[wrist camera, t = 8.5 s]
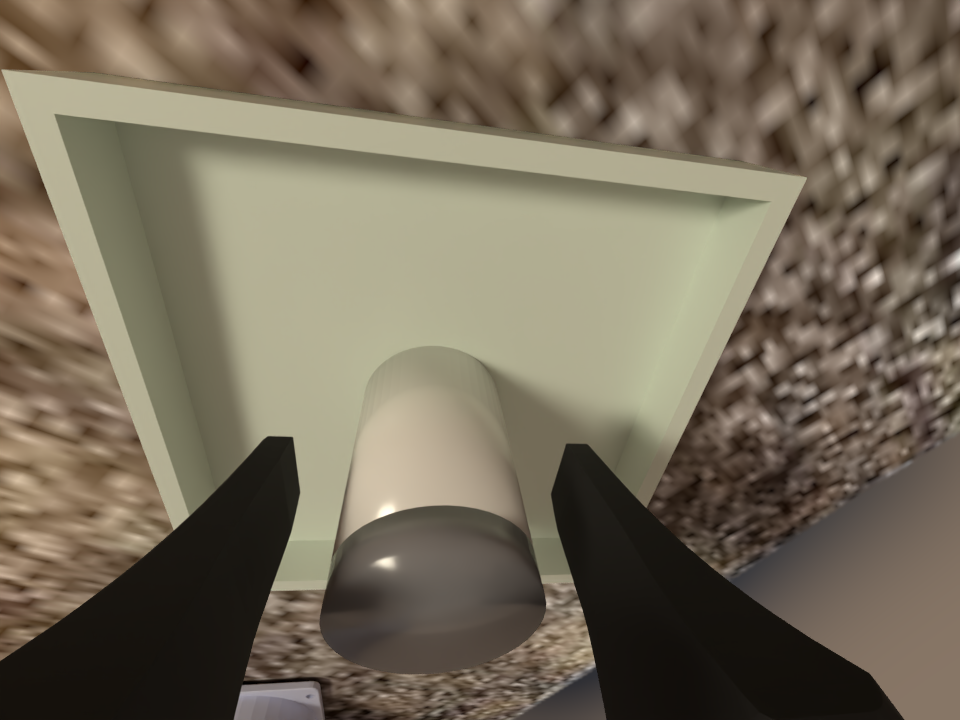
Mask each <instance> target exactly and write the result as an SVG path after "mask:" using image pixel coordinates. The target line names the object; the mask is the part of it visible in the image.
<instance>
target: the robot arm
mask: <svg viewBox="0 0 960 720" xmlns="http://www.w3.org/2000/svg"><path fill="white" fill-rule="evenodd" d="M299 497H300V486H299V478H298V471H297V463H296V455H295V448H294V440H293V437H285V436H267V437H266V438H265V439H263V440H262V441H261V443H260V444H259V445H258V446H257V447H256V448H255V449H254V450H253V451H252V453H251V454H250V455H249V456H248V457H247V458H246V459H245V460H244V461H243V462H242V463H241V465H240V466H239V467H238V468H237V469H236V470H235V471H234V472H233V473H232V474H231V475H230V476H229V477H228V478H227V479H226V480H225V481H224V482H223V483H222V484H221V485H220V486H219V487H218V488H217V489H216V491H215V492H214V493H213V494H212V495H211V496H210V497H209V498H208V499H207V500H206V501H205V502H204V503H203V504H202V505H201V506H200V507H198V508H197V509H196V510H195V511H194V512H193V513H192V514H191V515H190V516H189V517H188V518H187V519H186V520H185V521H183V522H182V523H181V524H180V525H179V526H178V527H177V528H176V529H175V530H174V531H173V532H172V533H170V534H169V535H168V536H167V537H166V538H165V539H164V540H163V541H161V542H160V543H159V544H158V545H157V546H156V547H155V548H153V549H152V550H151V551H150V552H149V553H148V554H146V555H145V556H144V557H143V558H142V559H140V560H139V561H138V562H137V563H135V564H134V565H133V566H132V567H131V568H129V569H128V570H127V571H126V572H124V573H123V574H122V575H121V576H119V577H118V578H117V579H116V580H114V581H113V582H112V583H110V584H109V585H108V586H106V587H105V588H104V589H102V590H101V591H100V592H98V593H97V594H96V595H94V596H93V597H92V598H90V599H89V600H88V601H87V602H85V603H84V604H83V605H81V606H80V607H78V608H77V609H76V610H74V611H73V612H72V613H70V614H69V615H67V616H66V617H65V618H63V619H62V620H60V621H59V622H58V623H56V624H55V625H53V626H52V627H50V628H49V629H47V630H46V631H44V632H43V633H41V634H40V635H38V636H37V637H35V638H34V639H32V640H31V641H29V642H28V643H27V644H25V645H24V646H22V647H21V648H19V649H18V650H16V651H15V652H13V653H12V654H10V655H9V656H7V657H6V658H4V659H3V660H1V661H0V720H325V715H324V708H323V701H322V694H321V687H320V684H319V683H318V682H316V681H303V682H285V683H268V684H250V685H242V684H243V680H244V676H245V672H246V668H247V664H248V660H249V657H250V653H251V649H252V645H253V641H254V638H255V635H256V632H257V629H258V625H259V622H260V619H261V616H262V614H263V611H264V608H265V605H266V602H267V600H268V597H269V594H270V591H271V588H272V586H273V583H274V580H275V577H276V574H277V572H278V569H279V566H280V563H281V560H282V557H283V555H284V552H285V549H286V546H287V543H288V540H289V537H290V535H291V532H292V527H293V523H294V519H295V515H296V510H297V506H298V501H299ZM551 499H552V504H553V510H554V516H555V521H556V526H557V530H558V534H559V537H560V540H561V543H562V547H563V550H564V553H565V556H566V559H567V562H568V566H569V569H570V572H571V575H572V578H573V581H574V584H575V587H576V591H577V594H578V597H579V600H580V603H581V606H582V609H583V613H584V617H585V620H586V624H587V627H588V632H589V636H590V641H591V645H592V650H593V654H594V659H595V663H596V668H597V673H598V678H599V683H600V688H601V693H602V698H603V703H604V708H605V713H606V719H607V720H904V719H903V717H902V716H901V715H900V713H899V712H898V711H897V709H896V708H895V707H894V705H893V704H892V703H891V701H890V700H889V699H888V697H887V696H886V695H885V693H884V692H883V691H882V689H881V688H880V686H879V685H878V684H877V683H876V681H875V680H874V679H873V677H872V676H871V675H870V674H869V673H868V672H866V671H864V670H862V669H861V668H859V667H858V666H856V665H854V664H853V663H851V662H849V661H847V660H846V659H844V658H843V657H841V656H839V655H838V654H836V653H834V652H833V651H831V650H829V649H828V648H826V647H824V646H823V645H821V644H819V643H818V642H816V641H814V640H812V639H811V638H810V637H808V636H806V635H805V634H803V633H802V632H800V631H799V630H797V629H796V628H794V627H793V626H791V625H790V624H788V623H786V622H785V621H784V620H782V619H781V618H779V617H778V616H776V615H775V614H773V613H772V612H770V611H769V610H768V609H766V608H764V607H763V606H762V605H760V604H759V603H757V602H756V601H755V600H753V599H752V598H751V597H749V596H748V595H747V594H745V593H744V592H743V591H741V590H740V589H739V588H737V587H736V586H735V585H733V584H732V583H731V582H729V581H728V580H727V579H725V578H724V577H723V576H722V575H720V574H719V573H718V572H716V571H715V570H714V569H713V568H711V567H710V566H709V565H708V564H707V563H706V562H704V561H703V560H702V559H701V558H700V557H698V556H697V555H696V554H695V553H694V552H693V551H691V550H690V549H689V548H688V547H687V546H686V545H684V544H683V543H682V542H681V541H680V540H679V539H678V538H677V537H676V536H674V535H673V534H672V533H671V532H670V531H669V530H668V529H667V528H666V527H665V526H664V525H663V524H662V523H661V522H660V521H659V520H658V519H657V518H656V517H655V516H654V515H653V514H652V513H651V512H650V511H649V510H648V509H647V508H646V507H645V506H644V505H643V504H642V503H641V502H640V501H639V500H638V499H637V498H636V497H635V496H634V495H633V494H632V493H631V492H630V491H629V489H628V488H627V487H626V486H625V485H624V484H623V483H622V482H621V481H620V480H619V479H618V477H617V476H616V475H615V474H614V473H613V472H612V471H611V470H610V469H609V467H608V466H607V465H606V464H605V463H604V462H603V461H602V460H601V458H600V457H599V456H598V455H597V454H596V453H595V452H594V451H593V450H592V448H591V447H590V446H589V445H588V444H571V443H566V446H565V449H564V453H563V456H562V459H561V462H560V466H559V469H558V472H557V475H556V479H555V482H554V485H553V488H552V492H551Z"/></svg>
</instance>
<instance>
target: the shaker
mask: <svg viewBox="0 0 960 720" xmlns="http://www.w3.org/2000/svg"><path fill="white" fill-rule="evenodd" d="M545 611H546V599H545V594H544V590H543V585H542V581H541V577H540V573H539V568H538V564H537V560H536V555H535V551H534V547H533V542H532V538H531V534H530V529H529V525H528V521H527V517H526V512H525V508H524V504H523V499H522V495H521V491H520V486H519V482H518V478H517V474H516V469H515V465H514V461H513V456H512V452H511V448H510V443H509V439H508V435H507V431H506V426H505V422H504V418H503V413H502V409H501V405H500V400H499V396H498V392H497V387H496V384H495V382H494V379H493V377H492V376H491V374H490V372H489V371H488V370H487V368H486V367H485V366H484V365H483V364H482V363H481V362H479V361H478V360H477V359H475V358H474V357H472V356H470V355H469V354H467V353H465V352H462V351H460V350H457V349H453V348H449V347H443V346H421V347H416V348H411V349H408V350H405V351H402V352H400V353H397V354H395V355H393V356H392V357H390V358H389V359H387V360H386V361H384V362H383V363H382V364H381V365H380V366H379V367H378V368H377V369H376V370H375V371H374V373H373V374H372V375H371V377H370V379H369V381H368V383H367V386H366V389H365V393H364V398H363V403H362V408H361V413H360V418H359V423H358V428H357V433H356V438H355V443H354V448H353V453H352V458H351V463H350V468H349V473H348V478H347V484H346V489H345V494H344V499H343V504H342V509H341V514H340V519H339V524H338V529H337V534H336V539H335V544H334V549H333V554H332V559H331V564H330V569H329V574H328V579H327V584H326V589H325V594H324V599H323V604H322V609H321V614H320V629H321V633H322V635H323V637H324V640H325V641H326V642H327V644H328V645H329V646H330V647H331V648H332V649H333V650H334V651H335V652H336V653H338V654H339V655H341V656H342V657H344V658H345V659H347V660H349V661H351V662H353V663H356V664H358V665H361V666H364V667H367V668H371V669H374V670H379V671H384V672H390V673H399V674H434V673H443V672H451V671H456V670H461V669H466V668H469V667H473V666H477V665H480V664H483V663H486V662H489V661H491V660H493V659H496V658H498V657H500V656H502V655H504V654H506V653H508V652H510V651H512V650H513V649H515V648H516V647H518V646H519V645H521V644H522V643H523V642H525V641H526V640H527V639H528V638H529V637H530V636H531V635H532V634H533V633H534V632H535V631H536V629H537V628H538V627H539V625H540V624H541V622H542V620H543V618H544V614H545Z"/></svg>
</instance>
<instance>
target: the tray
mask: <svg viewBox="0 0 960 720" xmlns="http://www.w3.org/2000/svg"><path fill="white" fill-rule="evenodd" d="M1 70H2V69H1ZM2 73H3V75H4V78H5V81H6V83H7V86H8V89H9V91H10V94H11V97H12V99H13V102H14V105H15V107H16V110H17V113H18V115H19V118H20V121H21V123H22V126H23V129H24V131H25V134H26V137H27V139H28V142H29V145H30V147H31V150H32V153H33V155H34V158H35V161H36V163H37V166H38V169H39V172H40V174H41V177H42V180H43V182H44V185H45V188H46V190H47V193H48V196H49V198H50V201H51V204H52V206H53V209H54V212H55V214H56V217H57V220H58V222H59V225H60V228H61V230H62V233H63V236H64V238H65V241H66V244H67V246H68V249H69V252H70V254H71V257H72V260H73V262H74V265H75V268H76V270H77V273H78V276H79V278H80V281H81V284H82V286H83V289H84V292H85V294H86V297H87V300H88V302H89V305H90V308H91V310H92V313H93V316H94V318H95V321H96V324H97V326H98V329H99V332H100V334H101V337H102V340H103V342H104V345H105V348H106V350H107V353H108V356H109V358H110V361H111V364H112V366H113V369H114V372H115V374H116V377H117V380H118V382H119V385H120V388H121V390H122V393H123V396H124V398H125V401H126V404H127V406H128V409H129V412H130V414H131V417H132V420H133V422H134V425H135V428H136V430H137V433H138V436H139V438H140V441H141V444H142V446H143V449H144V452H145V454H146V457H147V460H148V462H149V465H150V468H151V470H152V473H153V476H154V478H155V481H156V484H157V486H158V489H159V492H160V494H161V497H162V500H163V503H164V505H165V508H166V511H167V513H168V516H169V519H170V521H171V524H172V527H173V529H174V530H175V529H176V528H177V527H178V526H179V525H180V524H181V523H182V522H183V521H185V520H186V519H187V518H188V517H189V516H190V515H191V514H192V513H193V512H194V511H195V510H196V509H197V508H198V507H200V506H201V505H202V504H203V503H204V502H205V501H206V500H207V499H208V498H209V497H210V496H211V495H212V494H213V493H214V492H215V491H216V489H217V488H218V487H219V486H220V485H221V484H222V483H223V482H224V481H225V480H226V479H227V478H228V477H229V476H230V475H231V474H232V473H233V472H234V471H235V470H236V469H237V468H238V467H239V466H240V465H241V463H242V462H243V461H244V460H245V459H246V458H247V457H248V456H249V455H250V454H251V453H252V451H253V450H254V449H255V448H256V447H257V446H258V445H259V444H260V443H261V441H262V440H263V439H265V438H266V437H267V436H285V437H293V440H294V448H295V455H296V463H297V471H298V478H299V486H300V497H299V501H298V506H297V510H296V515H295V519H294V523H293V527H292V532H291V535H290V537H289V540H288V543H287V546H286V549H285V552H284V555H283V557H282V560H281V563H280V566H279V569H278V572H277V574H276V577H275V580H274V583H273V586H272V588H271V591H285V590H323V589H326V584H327V579H328V574H329V569H330V564H331V559H332V554H333V549H334V544H335V539H336V534H337V529H338V524H339V519H340V514H341V509H342V504H343V499H344V494H345V489H346V484H347V478H348V473H349V468H350V463H351V458H352V453H353V448H354V443H355V438H356V433H357V428H358V423H359V418H360V413H361V408H362V403H363V398H364V393H365V389H366V386H367V383H368V381H369V379H370V377H371V375H372V374H373V373H374V371H375V370H376V369H377V368H378V367H379V366H380V365H381V364H382V363H383V362H384V361H386V360H387V359H389V358H390V357H392V356H393V355H395V354H397V353H400V352H402V351H405V350H408V349H411V348H416V347H421V346H443V347H449V348H453V349H457V350H460V351H462V352H465V353H467V354H469V355H470V356H472V357H474V358H475V359H477V360H478V361H479V362H481V363H482V364H483V365H484V366H485V367H486V368H487V370H488V371H489V372H490V374H491V376H492V377H493V379H494V382H495V384H496V387H497V392H498V396H499V400H500V405H501V409H502V413H503V418H504V422H505V426H506V431H507V435H508V439H509V443H510V448H511V452H512V456H513V461H514V465H515V469H516V474H517V478H518V482H519V486H520V491H521V495H522V499H523V504H524V508H525V512H526V517H527V521H528V525H529V529H530V534H531V538H532V542H533V547H534V551H535V555H536V560H537V564H538V568H539V573H540V577H541V581H542V584H548V583H574V581H573V578H572V575H571V572H570V569H569V566H568V562H567V559H566V556H565V553H564V550H563V547H562V543H561V540H560V537H559V534H558V530H557V526H556V521H555V516H554V510H553V504H552V499H551V492H552V488H553V485H554V482H555V479H556V475H557V472H558V469H559V466H560V462H561V459H562V456H563V453H564V449H565V446H566V443H571V444H588V445H589V446H590V447H591V448H592V450H593V451H594V452H595V453H596V454H597V455H598V456H599V457H600V458H601V460H602V461H603V462H604V463H605V464H606V465H607V466H608V467H609V469H610V470H611V471H612V472H613V473H614V474H615V475H616V476H617V477H618V479H619V480H620V481H621V482H622V483H623V484H624V485H625V486H626V487H627V488H628V489H629V491H630V492H631V493H632V494H633V495H634V496H635V497H636V498H637V499H638V500H639V501H640V502H641V503H642V504H643V505H644V506H645V507H646V508H647V506H648V504H649V502H650V500H651V498H652V496H653V494H654V492H655V490H656V487H657V485H658V483H659V481H660V479H661V477H662V475H663V473H664V471H665V469H666V467H667V465H668V463H669V461H670V459H671V457H672V455H673V453H674V450H675V448H676V446H677V444H678V442H679V440H680V438H681V436H682V434H683V432H684V430H685V428H686V426H687V424H688V422H689V420H690V418H691V416H692V413H693V411H694V409H695V407H696V405H697V403H698V401H699V399H700V397H701V395H702V393H703V391H704V389H705V387H706V385H707V383H708V381H709V379H710V376H711V374H712V372H713V370H714V368H715V366H716V364H717V362H718V360H719V358H720V356H721V354H722V352H723V350H724V348H725V346H726V344H727V342H728V339H729V337H730V335H731V333H732V331H733V329H734V327H735V325H736V323H737V321H738V319H739V317H740V315H741V313H742V311H743V309H744V307H745V305H746V302H747V300H748V298H749V296H750V294H751V292H752V290H753V288H754V286H755V284H756V282H757V280H758V278H759V276H760V274H761V272H762V270H763V268H764V265H765V263H766V261H767V259H768V257H769V255H770V253H771V251H772V249H773V247H774V245H775V243H776V241H777V239H778V237H779V235H780V233H781V231H782V228H783V226H784V224H785V222H786V220H787V218H788V216H789V214H790V212H791V210H792V208H793V206H794V204H795V202H796V200H797V198H798V196H799V194H800V191H801V189H802V187H803V185H804V183H805V181H806V179H807V177H803V176H799V175H795V174H791V173H787V172H783V171H779V170H775V169H771V168H767V167H763V166H759V165H755V164H751V163H747V162H743V161H737V160H729V159H722V158H715V157H707V156H700V155H693V154H685V153H678V152H671V151H664V150H656V149H649V148H642V147H634V146H627V145H620V144H612V143H605V142H598V141H590V140H583V139H576V138H569V137H561V136H554V135H547V134H539V133H532V132H525V131H517V130H510V129H503V128H495V127H488V126H481V125H474V124H466V123H459V122H452V121H444V120H437V119H430V118H422V117H415V116H408V115H400V114H393V113H386V112H379V111H371V110H364V109H357V108H349V107H342V106H335V105H327V104H320V103H313V102H305V101H298V100H291V99H284V98H276V97H269V96H262V95H254V94H247V93H240V92H232V91H225V90H218V89H211V88H203V87H196V86H189V85H181V84H174V83H167V82H159V81H152V80H145V79H137V78H130V77H123V76H116V75H108V74H101V73H92V72H62V71H32V70H2Z"/></svg>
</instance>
